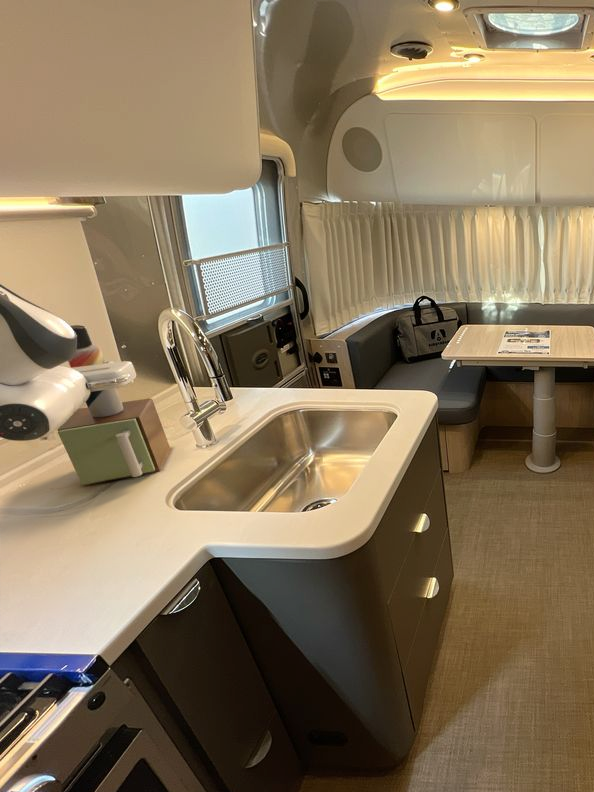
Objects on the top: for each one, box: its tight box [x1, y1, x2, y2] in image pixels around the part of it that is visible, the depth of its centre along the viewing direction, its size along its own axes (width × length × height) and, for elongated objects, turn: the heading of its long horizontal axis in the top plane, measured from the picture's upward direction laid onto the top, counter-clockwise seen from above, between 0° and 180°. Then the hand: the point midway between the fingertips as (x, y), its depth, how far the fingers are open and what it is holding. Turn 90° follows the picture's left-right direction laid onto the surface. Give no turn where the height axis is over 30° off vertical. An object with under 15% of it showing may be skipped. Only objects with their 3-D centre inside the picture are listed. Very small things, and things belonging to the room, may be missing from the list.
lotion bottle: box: [67, 324, 123, 417], centre depth 105 cm, size 6×6×20 cm
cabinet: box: [57, 397, 171, 487], centre depth 111 cm, size 14×12×14 cm
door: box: [57, 418, 155, 486], centre depth 104 cm, size 13×5×13 cm, turn 115°
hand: (82, 368), depth 101 cm, fingers open, 8 cm apart
